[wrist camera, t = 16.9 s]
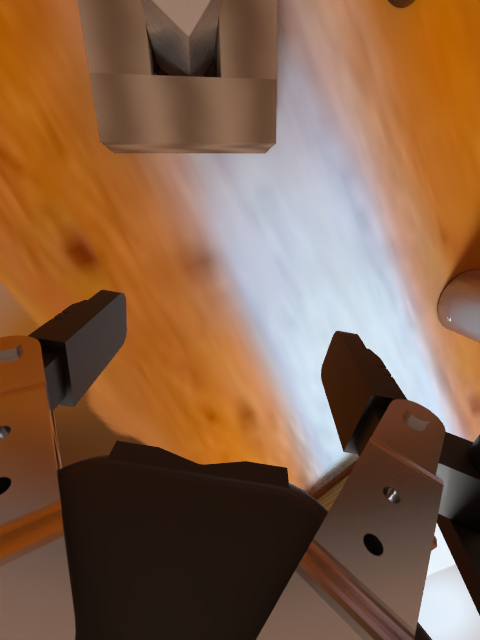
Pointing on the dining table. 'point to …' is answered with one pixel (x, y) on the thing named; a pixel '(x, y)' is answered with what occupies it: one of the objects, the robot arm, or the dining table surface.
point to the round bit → (401, 3)
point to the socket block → (183, 82)
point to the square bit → (182, 34)
